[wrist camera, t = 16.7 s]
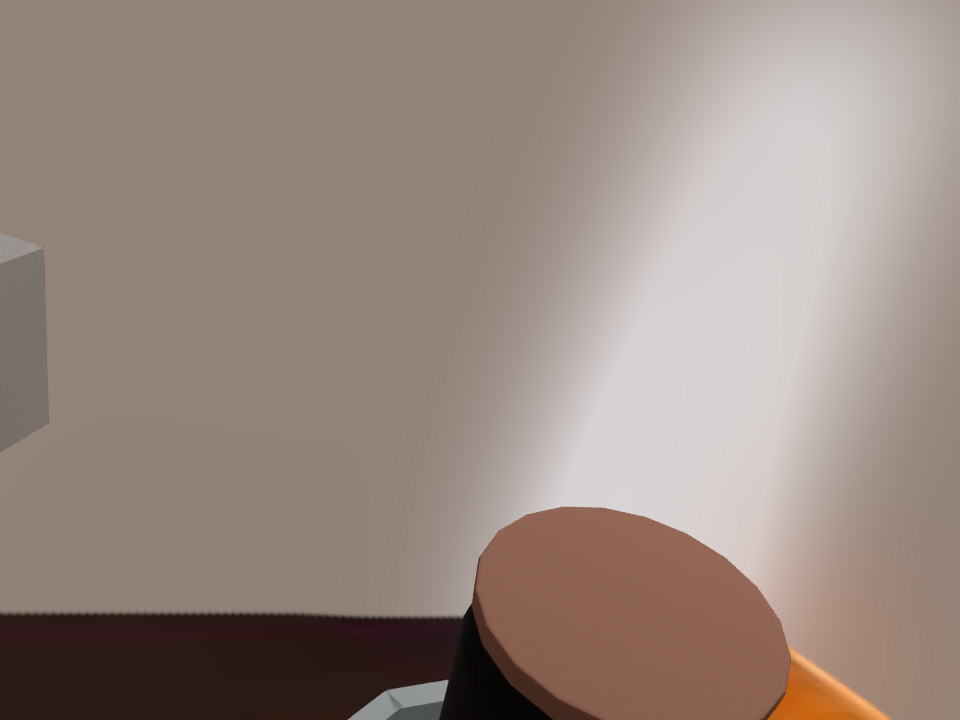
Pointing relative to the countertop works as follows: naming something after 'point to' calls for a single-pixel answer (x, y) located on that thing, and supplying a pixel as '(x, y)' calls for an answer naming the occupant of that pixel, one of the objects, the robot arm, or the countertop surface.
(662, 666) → the coffee jar
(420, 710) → the bowl
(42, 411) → the robot arm
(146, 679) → the countertop surface
